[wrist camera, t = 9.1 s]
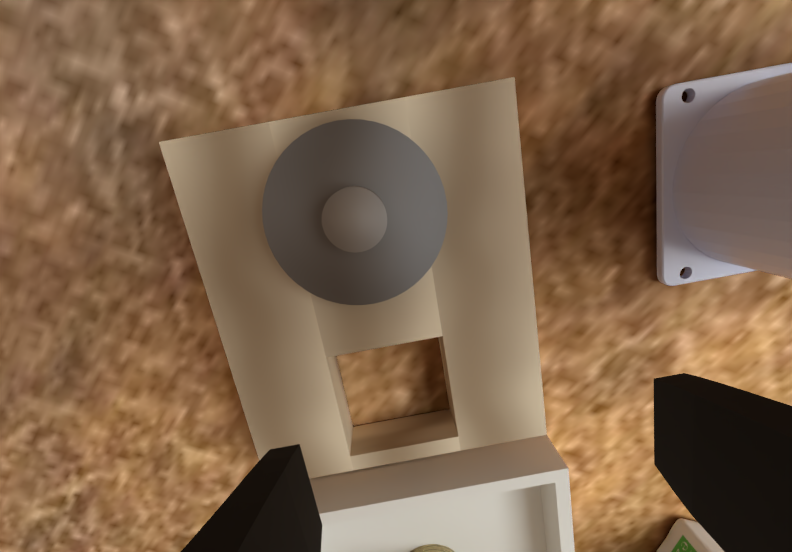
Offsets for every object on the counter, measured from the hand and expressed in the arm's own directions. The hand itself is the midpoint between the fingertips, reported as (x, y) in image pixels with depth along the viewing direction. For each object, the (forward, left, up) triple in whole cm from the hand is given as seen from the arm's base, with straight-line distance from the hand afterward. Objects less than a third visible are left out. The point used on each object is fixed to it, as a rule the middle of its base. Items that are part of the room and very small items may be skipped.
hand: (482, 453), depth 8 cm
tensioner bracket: (+2, -1, -9) cm, 10 cm away
